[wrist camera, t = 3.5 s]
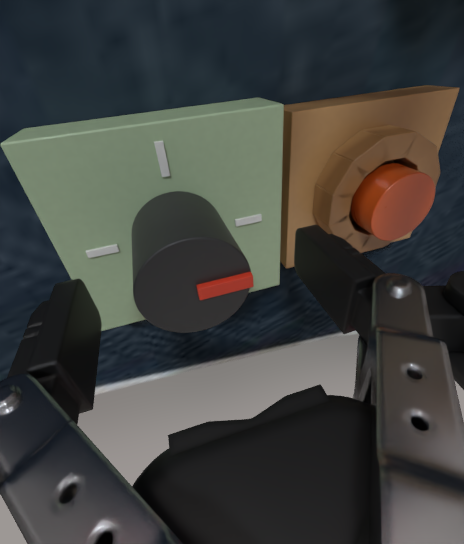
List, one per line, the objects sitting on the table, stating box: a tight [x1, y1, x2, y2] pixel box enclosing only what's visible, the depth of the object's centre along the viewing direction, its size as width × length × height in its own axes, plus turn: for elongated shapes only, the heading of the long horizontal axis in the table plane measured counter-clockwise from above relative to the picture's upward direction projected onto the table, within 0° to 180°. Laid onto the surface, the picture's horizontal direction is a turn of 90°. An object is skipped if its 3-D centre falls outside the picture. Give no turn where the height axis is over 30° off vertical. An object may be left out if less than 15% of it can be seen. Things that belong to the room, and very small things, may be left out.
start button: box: [351, 163, 435, 241], centre depth 15 cm, size 4×4×2 cm
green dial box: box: [1, 98, 284, 331], centre depth 15 cm, size 11×10×3 cm
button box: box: [280, 85, 459, 268], centre depth 17 cm, size 10×9×4 cm
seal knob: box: [131, 191, 254, 333], centre depth 12 cm, size 4×4×5 cm
